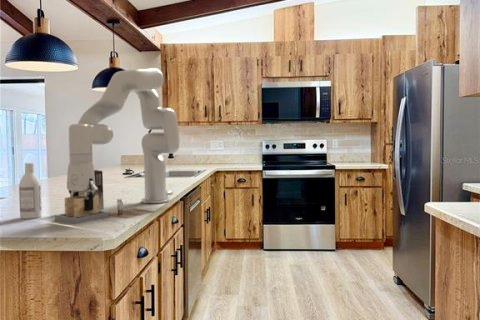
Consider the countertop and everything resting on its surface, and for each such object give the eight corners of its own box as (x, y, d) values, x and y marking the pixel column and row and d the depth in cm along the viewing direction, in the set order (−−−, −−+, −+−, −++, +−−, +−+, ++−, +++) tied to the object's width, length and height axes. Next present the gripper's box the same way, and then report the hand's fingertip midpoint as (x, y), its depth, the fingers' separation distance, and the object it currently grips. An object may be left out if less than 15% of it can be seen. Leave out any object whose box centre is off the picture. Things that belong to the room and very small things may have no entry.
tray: (88, 214, 145) (88, 209, 145) (109, 217, 139) (108, 212, 139) (54, 221, 133) (54, 215, 133) (75, 225, 127) (75, 218, 127)
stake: (120, 215, 143) (120, 199, 143) (124, 216, 142) (124, 199, 142) (116, 216, 142) (116, 199, 141) (120, 216, 141) (119, 200, 140)
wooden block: (76, 216, 130) (76, 199, 130) (65, 214, 134) (64, 197, 133) (99, 212, 138) (98, 195, 138) (87, 210, 142) (87, 194, 141)
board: (134, 210, 154) (134, 208, 154) (156, 212, 148) (156, 211, 148) (103, 216, 141) (103, 214, 141) (126, 219, 135) (126, 218, 135)
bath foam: (33, 214, 145) (31, 162, 144) (45, 216, 142) (44, 162, 141) (15, 218, 139) (13, 163, 138) (28, 219, 136) (27, 163, 135)
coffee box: (95, 208, 158) (94, 169, 157) (104, 210, 154) (103, 170, 153) (74, 211, 151) (73, 171, 150) (82, 213, 147) (81, 171, 146)
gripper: (56, 159, 136) (57, 208, 137) (87, 160, 127) (89, 213, 128) (75, 158, 143) (76, 205, 144) (106, 159, 134) (107, 210, 135)
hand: (82, 209), depth 136 cm, fingers closed on wooden block, 6 cm apart
